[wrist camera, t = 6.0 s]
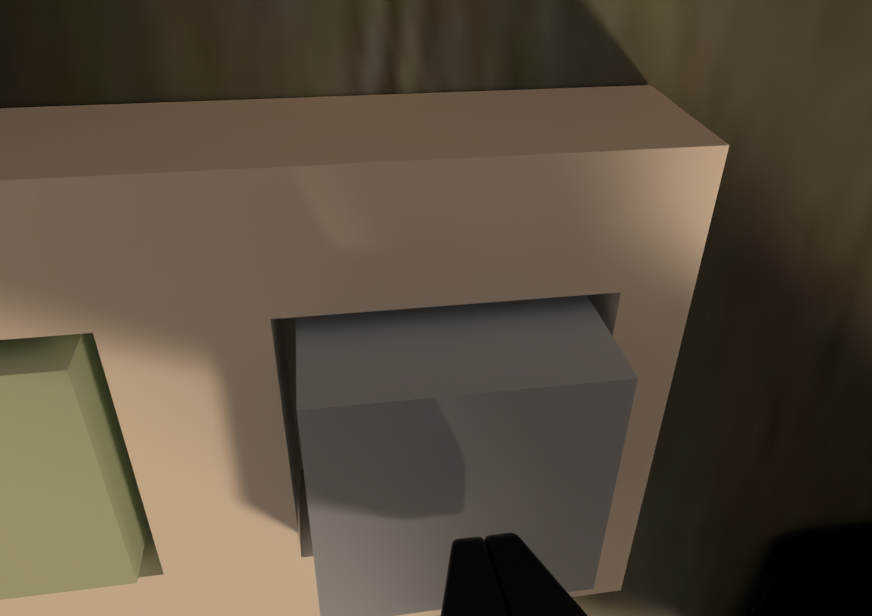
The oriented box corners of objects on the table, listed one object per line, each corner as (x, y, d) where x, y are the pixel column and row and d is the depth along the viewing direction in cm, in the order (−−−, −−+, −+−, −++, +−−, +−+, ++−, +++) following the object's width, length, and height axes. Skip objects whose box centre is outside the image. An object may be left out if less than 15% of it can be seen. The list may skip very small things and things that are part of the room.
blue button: (586, 292, 11) (638, 378, 9) (555, 492, 13) (593, 588, 12) (295, 315, 10) (296, 409, 9) (317, 520, 13) (321, 625, 11)
